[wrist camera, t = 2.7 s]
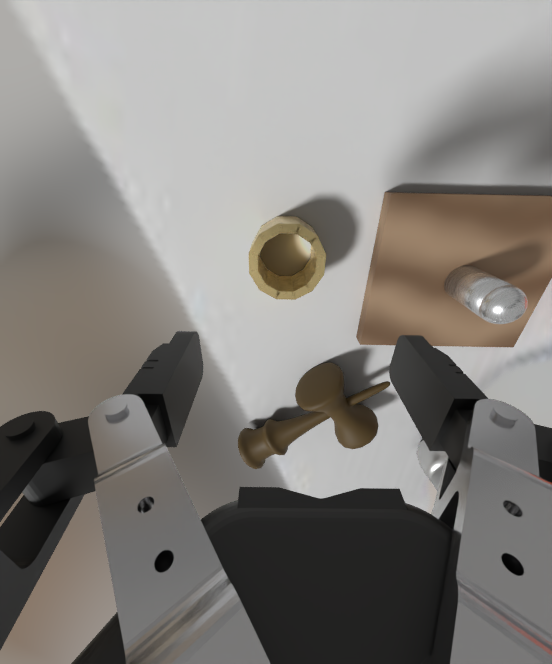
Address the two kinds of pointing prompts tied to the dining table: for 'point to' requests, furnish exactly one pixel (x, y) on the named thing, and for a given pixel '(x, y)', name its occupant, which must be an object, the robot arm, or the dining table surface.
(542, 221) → the walnut base plate
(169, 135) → the dining table surface
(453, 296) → the steel post
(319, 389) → the kendama
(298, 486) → the dining table surface
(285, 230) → the brass ring
